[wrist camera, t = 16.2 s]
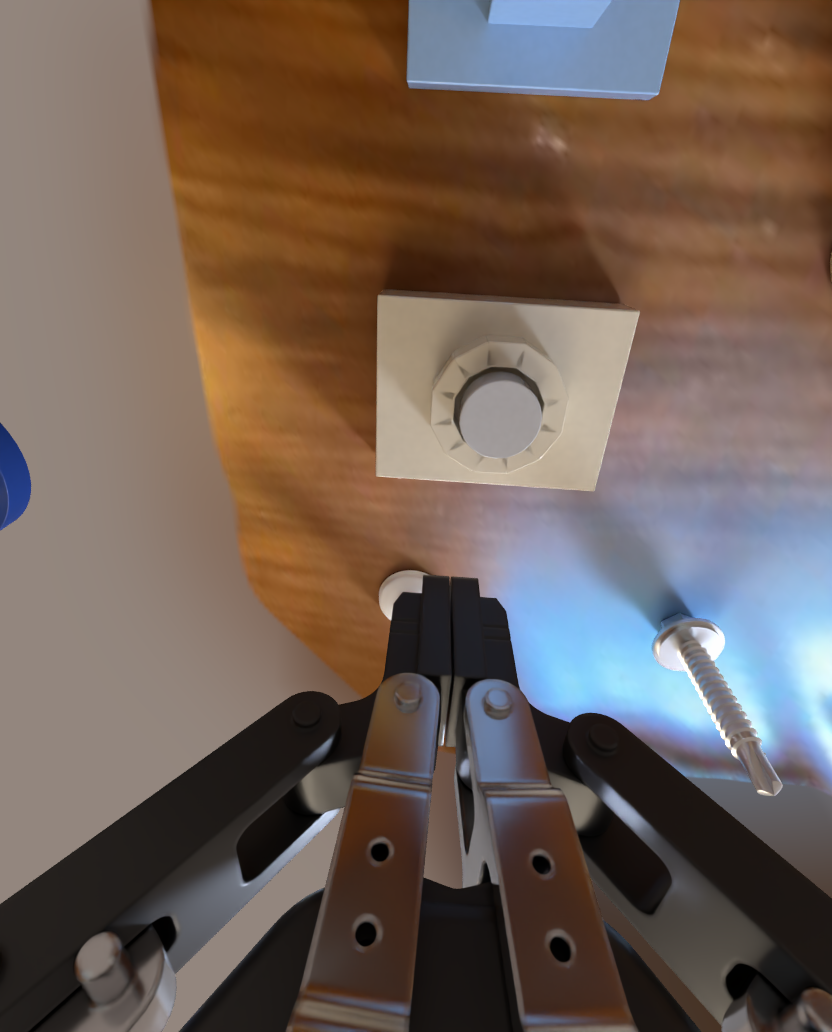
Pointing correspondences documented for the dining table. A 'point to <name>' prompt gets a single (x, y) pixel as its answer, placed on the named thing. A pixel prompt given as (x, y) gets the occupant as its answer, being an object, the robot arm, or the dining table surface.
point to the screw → (714, 691)
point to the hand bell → (831, 266)
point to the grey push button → (499, 415)
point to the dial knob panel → (490, 348)
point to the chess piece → (399, 588)
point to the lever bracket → (541, 46)
